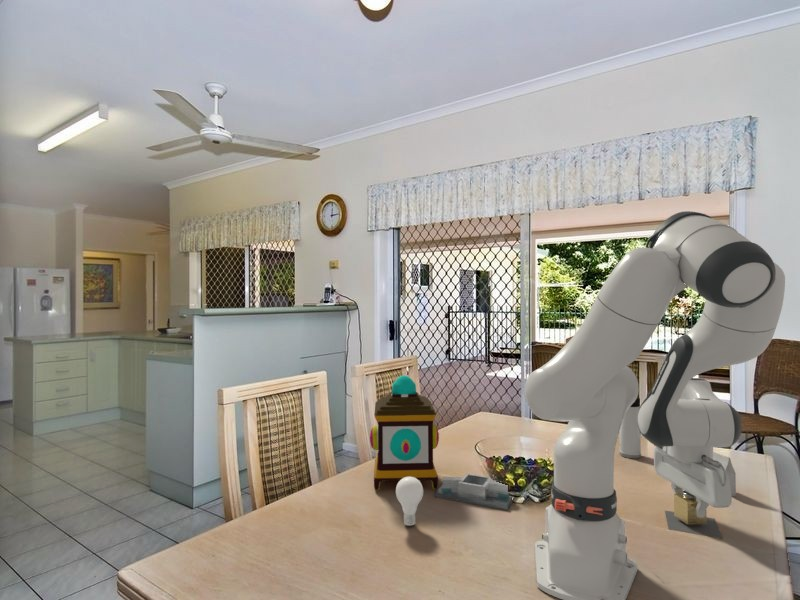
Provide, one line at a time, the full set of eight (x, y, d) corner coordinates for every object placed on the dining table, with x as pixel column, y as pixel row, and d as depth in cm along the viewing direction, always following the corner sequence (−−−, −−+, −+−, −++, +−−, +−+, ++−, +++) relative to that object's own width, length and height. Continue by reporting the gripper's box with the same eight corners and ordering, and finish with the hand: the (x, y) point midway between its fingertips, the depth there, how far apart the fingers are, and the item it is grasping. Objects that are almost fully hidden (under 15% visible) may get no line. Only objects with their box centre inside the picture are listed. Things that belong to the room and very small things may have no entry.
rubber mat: (723, 542, 97) (723, 538, 97) (668, 532, 102) (668, 528, 102) (714, 522, 106) (714, 518, 106) (664, 513, 111) (664, 510, 111)
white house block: (723, 497, 120) (723, 458, 120) (702, 487, 127) (701, 450, 127) (735, 496, 121) (735, 457, 121) (713, 485, 127) (713, 449, 127)
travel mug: (614, 454, 154) (614, 394, 154) (628, 451, 157) (627, 392, 157) (631, 460, 148) (630, 397, 148) (645, 457, 151) (644, 395, 151)
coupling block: (706, 523, 102) (706, 496, 102) (687, 524, 102) (687, 497, 102) (692, 514, 107) (692, 488, 107) (674, 515, 106) (674, 489, 106)
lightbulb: (400, 534, 102) (399, 484, 102) (392, 521, 108) (392, 473, 108) (427, 530, 104) (427, 481, 104) (418, 517, 110) (418, 471, 110)
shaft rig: (507, 510, 113) (507, 492, 113) (434, 496, 121) (434, 480, 121) (515, 495, 122) (515, 478, 122) (447, 483, 130) (447, 467, 130)
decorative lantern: (369, 493, 124) (368, 381, 124) (371, 467, 144) (370, 370, 144) (443, 492, 124) (442, 380, 125) (435, 466, 144) (434, 369, 144)
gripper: (740, 464, 94) (740, 532, 94) (672, 435, 115) (673, 491, 115) (711, 465, 94) (711, 533, 94) (648, 436, 114) (648, 492, 114)
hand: (689, 510), depth 104 cm, fingers closed on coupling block, 4 cm apart
